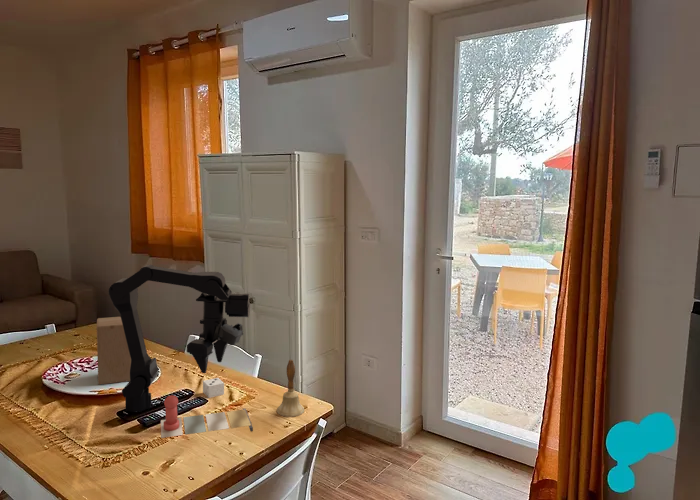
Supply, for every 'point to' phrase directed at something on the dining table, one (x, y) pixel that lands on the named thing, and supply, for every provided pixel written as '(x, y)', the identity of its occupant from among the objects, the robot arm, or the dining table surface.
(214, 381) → the die
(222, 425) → the board
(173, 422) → the pawn
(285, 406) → the hand bell
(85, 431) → the dining table surface
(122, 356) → the wooden block
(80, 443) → the dining table surface
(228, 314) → the robot arm
